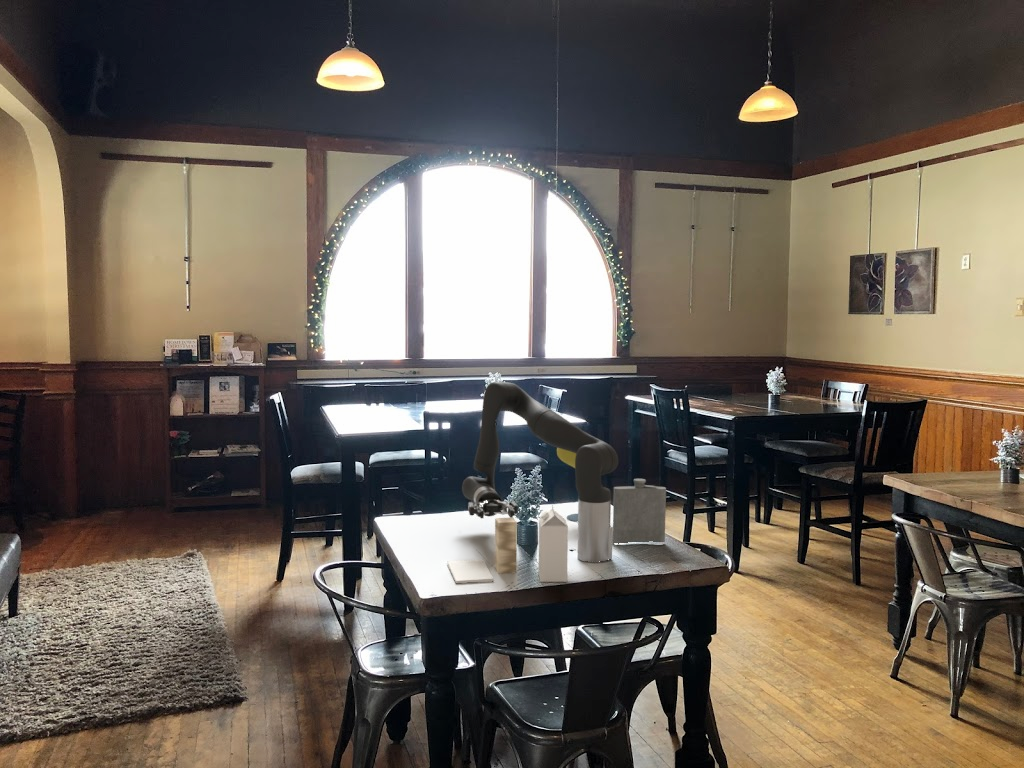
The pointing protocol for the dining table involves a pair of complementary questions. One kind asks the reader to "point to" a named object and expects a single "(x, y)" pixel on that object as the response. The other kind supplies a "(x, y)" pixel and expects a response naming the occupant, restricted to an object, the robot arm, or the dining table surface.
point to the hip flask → (639, 513)
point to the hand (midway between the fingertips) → (497, 514)
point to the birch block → (505, 545)
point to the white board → (470, 571)
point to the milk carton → (553, 547)
